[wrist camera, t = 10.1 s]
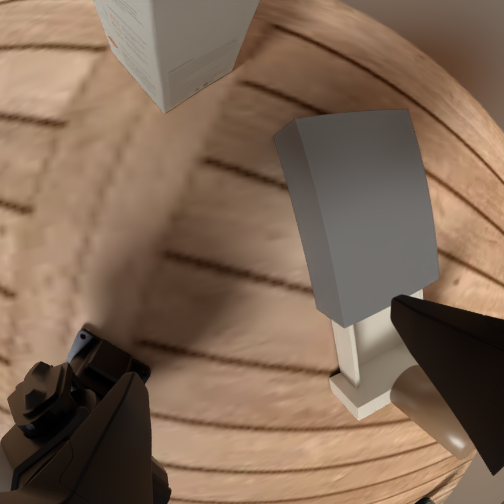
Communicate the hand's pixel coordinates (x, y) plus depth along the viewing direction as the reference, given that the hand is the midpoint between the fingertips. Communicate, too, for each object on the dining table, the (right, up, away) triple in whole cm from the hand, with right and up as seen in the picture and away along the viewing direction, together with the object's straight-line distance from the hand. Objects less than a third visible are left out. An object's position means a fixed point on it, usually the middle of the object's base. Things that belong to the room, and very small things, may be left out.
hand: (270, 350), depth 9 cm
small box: (-7, +18, +9) cm, 21 cm away
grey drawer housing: (+8, +7, +14) cm, 17 cm away
